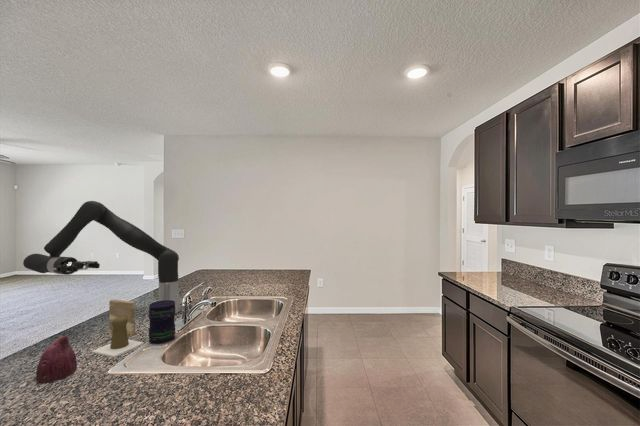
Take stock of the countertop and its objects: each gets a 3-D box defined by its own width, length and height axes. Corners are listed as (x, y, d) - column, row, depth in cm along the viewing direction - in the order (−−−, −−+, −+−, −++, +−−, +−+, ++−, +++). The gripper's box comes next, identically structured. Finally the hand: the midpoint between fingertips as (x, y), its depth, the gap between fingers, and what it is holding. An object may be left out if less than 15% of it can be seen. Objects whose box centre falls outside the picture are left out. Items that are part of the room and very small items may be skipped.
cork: (132, 342, 118) (132, 315, 118) (120, 349, 112) (120, 320, 112) (118, 342, 118) (118, 314, 118) (106, 348, 112) (106, 319, 112)
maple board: (115, 329, 133) (116, 298, 133) (137, 333, 128) (137, 301, 129) (106, 333, 129) (107, 301, 129) (128, 337, 125) (128, 304, 125)
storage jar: (143, 341, 120) (143, 304, 121) (165, 332, 129) (165, 299, 129) (158, 346, 116) (158, 308, 116) (180, 337, 125) (180, 302, 125)
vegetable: (81, 378, 98) (95, 335, 99) (44, 391, 89) (60, 343, 90) (62, 365, 102) (76, 323, 103) (25, 376, 92) (41, 330, 93)
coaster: (122, 340, 122) (122, 338, 122) (144, 344, 118) (144, 342, 118) (91, 352, 110) (91, 351, 110) (114, 357, 106) (114, 355, 106)
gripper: (43, 259, 122) (68, 260, 117) (80, 254, 135) (105, 256, 130) (42, 277, 122) (68, 279, 117) (80, 271, 135) (105, 273, 130)
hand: (88, 267), depth 123 cm, fingers open, 8 cm apart
